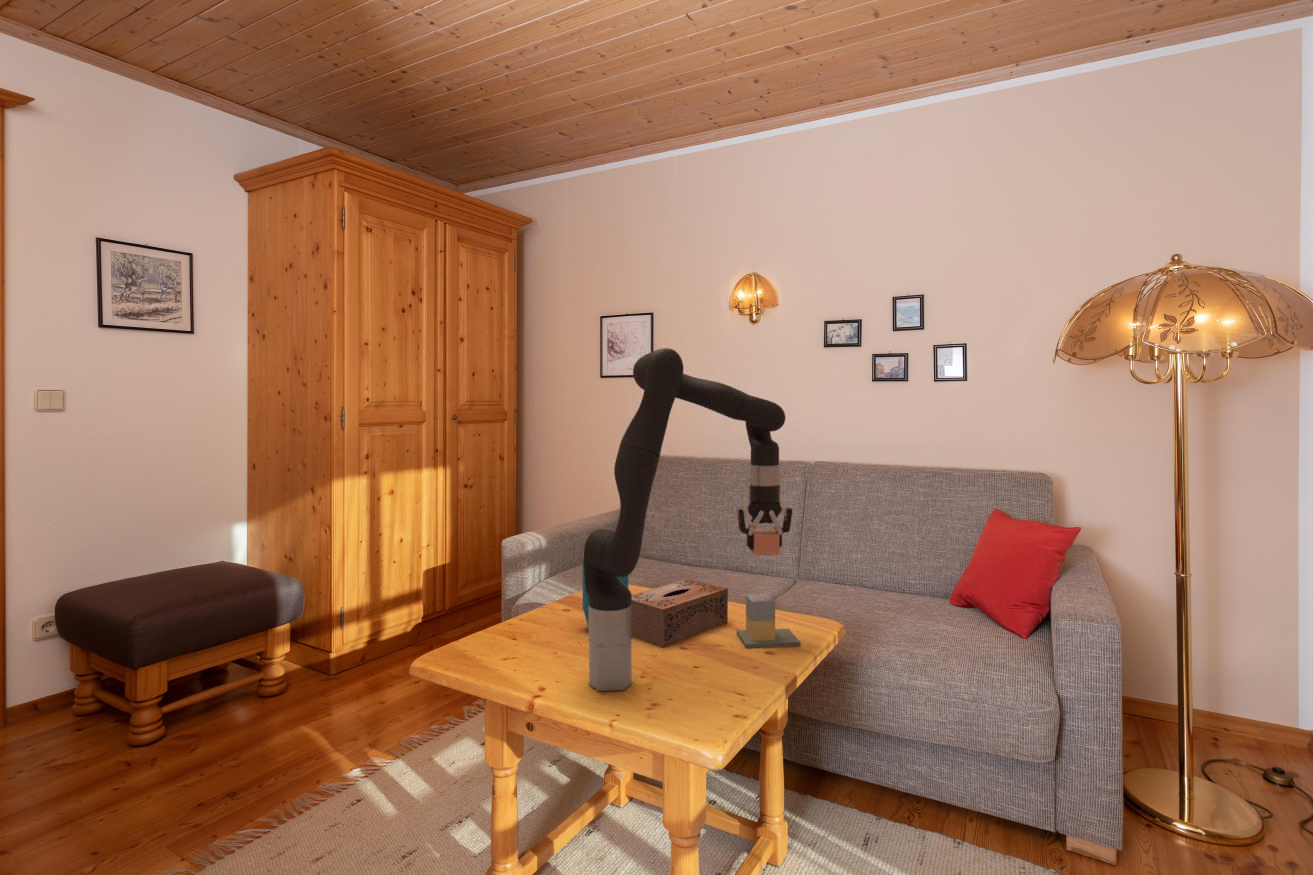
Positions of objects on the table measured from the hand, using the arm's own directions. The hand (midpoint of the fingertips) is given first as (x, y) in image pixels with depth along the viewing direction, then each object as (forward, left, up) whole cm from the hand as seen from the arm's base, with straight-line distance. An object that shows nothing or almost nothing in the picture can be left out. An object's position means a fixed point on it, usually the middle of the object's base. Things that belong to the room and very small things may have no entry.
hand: (764, 548), depth 171 cm
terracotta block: (0, 0, -1) cm, 1 cm away
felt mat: (+1, -2, -24) cm, 24 cm away
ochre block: (+1, 0, -23) cm, 23 cm away
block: (+13, +39, -24) cm, 48 cm away
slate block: (+1, +1, -18) cm, 18 cm away
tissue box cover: (+12, +21, -24) cm, 34 cm away
